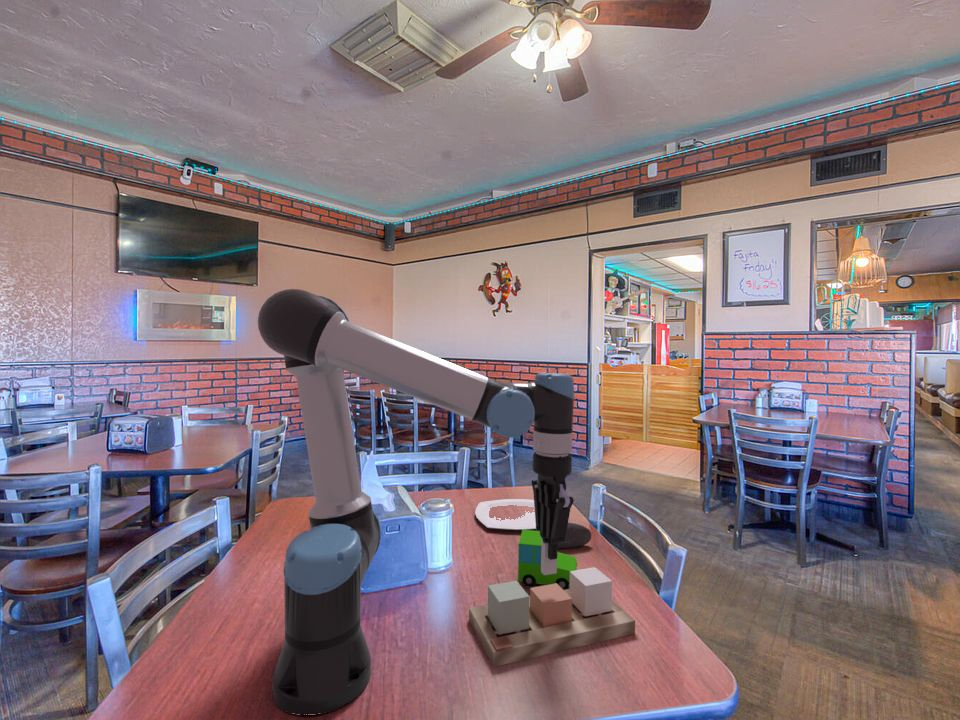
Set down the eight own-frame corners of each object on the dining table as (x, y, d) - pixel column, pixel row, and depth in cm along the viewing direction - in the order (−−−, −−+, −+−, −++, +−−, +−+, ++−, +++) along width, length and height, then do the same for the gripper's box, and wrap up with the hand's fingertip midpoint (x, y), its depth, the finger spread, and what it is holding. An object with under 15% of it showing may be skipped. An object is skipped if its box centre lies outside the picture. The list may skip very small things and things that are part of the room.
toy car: (577, 595, 99) (577, 551, 99) (517, 588, 102) (518, 545, 102) (576, 573, 109) (577, 532, 109) (522, 567, 112) (522, 528, 112)
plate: (471, 505, 157) (471, 500, 157) (546, 503, 160) (546, 497, 160) (479, 537, 131) (479, 530, 131) (569, 533, 134) (569, 527, 133)
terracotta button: (543, 635, 84) (543, 604, 84) (529, 617, 90) (530, 588, 90) (571, 629, 86) (572, 598, 86) (556, 612, 92) (556, 583, 92)
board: (493, 666, 77) (493, 650, 76) (468, 620, 90) (469, 605, 90) (634, 633, 86) (635, 618, 86) (593, 595, 99) (593, 582, 99)
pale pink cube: (585, 616, 87) (585, 585, 87) (569, 600, 93) (569, 571, 92) (611, 610, 89) (612, 580, 89) (594, 595, 95) (594, 567, 94)
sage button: (498, 634, 81) (499, 602, 81) (487, 616, 87) (487, 585, 87) (529, 628, 83) (529, 596, 83) (516, 610, 89) (516, 580, 89)
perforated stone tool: (588, 542, 127) (589, 518, 127) (594, 550, 122) (594, 525, 122) (536, 543, 126) (536, 518, 126) (540, 551, 121) (540, 526, 121)
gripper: (587, 459, 82) (583, 586, 83) (553, 444, 95) (550, 555, 95) (551, 461, 80) (547, 592, 80) (520, 446, 92) (517, 559, 93)
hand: (548, 572), depth 88 cm, fingers closed
